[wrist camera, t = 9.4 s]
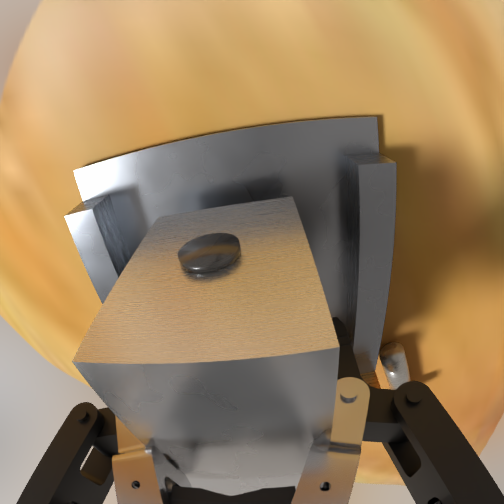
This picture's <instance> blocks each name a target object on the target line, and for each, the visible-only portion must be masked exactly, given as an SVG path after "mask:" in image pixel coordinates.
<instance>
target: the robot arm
mask: <svg viewBox="0 0 504 504" xmlns="http://www.w3.org/2000/svg"><path fill="white" fill-rule="evenodd" d="M332 321H333V325H334V328H335V332H336V335H337V339H338V343H339V346H340V350H339V364H338V377H337V388H336V399H335V408H334V417H333V425H332V433H331V440H328V441H316V442H314V443H312V445H311V448H310V451H309V454H308V457H307V460H306V463H305V466H304V469H303V472H302V475H301V477H300V480H299V483H298V486H297V489H296V488H295V486H288V487H276V488H262V489H259V490H255V491H251V492H247V493H243V494H238V495H234V496H229V495H224V494H220V493H216V492H213V491H209V490H205V489H202V488H192V486H191V484H190V482H189V480H188V478H187V477H186V475H185V474H184V473H183V472H182V471H181V470H180V469H176V468H175V467H174V466H173V465H172V464H171V463H170V462H169V461H168V460H167V459H166V458H165V456H164V454H163V453H162V452H161V451H160V450H159V449H158V448H157V447H156V446H145V445H144V444H143V443H141V442H140V441H139V440H138V439H137V438H136V436H135V435H134V434H133V433H132V432H131V431H130V430H129V429H128V428H127V427H126V426H125V425H124V424H123V423H122V422H121V421H120V420H119V419H118V417H117V416H116V415H115V414H114V413H113V412H112V411H111V410H110V408H109V407H108V408H103V409H97V408H96V407H95V406H94V405H93V404H91V403H89V402H84V403H80V404H78V405H76V406H75V407H74V408H73V409H72V411H71V412H70V414H69V415H68V417H67V418H66V420H65V421H64V423H63V425H62V426H61V428H60V429H59V431H58V433H57V434H56V436H55V437H54V439H53V441H52V442H51V444H50V446H49V447H48V449H47V451H46V452H45V454H44V456H43V457H42V459H41V461H40V462H39V464H38V466H37V467H36V469H35V471H34V473H33V474H32V476H31V478H30V480H29V482H28V483H27V485H26V487H25V489H24V490H23V492H22V494H21V496H20V498H19V500H18V502H17V504H103V502H104V500H105V498H106V496H107V494H108V492H109V490H110V488H111V486H112V484H113V482H115V489H116V496H117V502H118V504H348V502H349V499H350V495H351V492H352V488H353V484H354V480H355V476H356V472H357V468H358V463H359V459H360V454H361V444H362V441H371V442H382V444H383V445H384V447H385V449H386V451H387V452H388V454H389V456H390V458H391V459H392V461H393V463H394V465H395V467H396V468H397V470H398V472H399V474H400V476H401V477H402V479H403V481H404V483H405V485H406V486H407V488H408V490H409V492H410V493H411V495H412V497H413V499H414V501H415V503H416V504H504V496H503V494H502V492H501V491H500V489H499V488H498V486H497V484H496V483H495V481H494V480H493V478H492V477H491V475H490V473H489V472H488V470H487V469H486V467H485V466H484V464H483V463H482V461H481V460H480V458H479V457H478V455H477V454H476V452H475V451H474V450H473V448H472V447H471V445H470V444H469V442H468V441H467V439H466V438H465V436H464V435H463V434H462V432H461V431H460V429H459V428H458V427H457V425H456V424H455V422H454V421H453V420H452V418H451V417H450V415H449V414H448V413H447V411H446V410H445V409H444V407H443V406H442V404H441V403H440V402H439V400H438V399H437V398H436V396H435V395H434V394H433V392H432V391H431V390H430V388H429V387H428V386H427V385H425V384H423V383H421V382H418V381H409V382H405V383H403V384H402V385H400V386H399V387H398V388H397V389H396V390H391V389H378V388H374V387H372V386H370V385H368V384H367V383H366V382H365V381H364V380H363V379H362V377H361V375H360V372H359V368H358V365H357V362H356V358H355V355H354V352H353V349H352V346H351V342H350V339H349V337H348V333H347V330H346V327H345V324H344V323H343V322H342V321H341V320H340V319H339V318H338V317H333V318H332ZM91 446H93V447H94V448H93V449H92V451H91V453H90V455H89V457H88V458H87V460H86V462H85V464H84V466H83V467H82V469H81V470H80V467H81V465H82V463H83V461H84V459H85V457H86V456H87V454H88V452H89V450H90V448H91Z"/></svg>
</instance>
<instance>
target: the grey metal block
mask: <svg viewBox="0 0 504 504" xmlns="http://www.w3.org/2000/svg"><path fill="white" fill-rule="evenodd" d="M339 350H340V346H339V343H338V339H337V335H336V332H335V328H334V325H333V321H332V318H331V314H330V311H329V308H328V304H327V301H326V298H325V294H324V291H323V288H322V284H321V281H320V278H319V275H318V272H317V268H316V265H315V262H314V259H313V256H312V253H311V250H310V247H309V244H308V240H307V237H306V234H305V231H304V228H303V226H302V223H301V220H300V217H299V214H298V211H297V208H296V205H295V202H294V199H293V197H284V198H276V199H269V200H262V201H255V202H248V203H241V204H234V205H228V206H221V207H215V208H209V209H203V210H197V211H191V212H185V213H179V214H173V215H168V216H162V217H158V218H157V219H156V221H155V222H154V224H153V225H152V227H151V228H150V230H149V231H148V233H147V234H146V236H145V237H144V239H143V240H142V242H141V243H140V245H139V246H138V248H137V249H136V251H135V253H134V254H133V256H132V257H131V259H130V260H129V262H128V264H127V265H126V267H125V268H124V270H123V272H122V273H121V275H120V276H119V278H118V280H117V281H116V283H115V285H114V286H113V288H112V290H111V291H110V293H109V295H108V296H107V298H106V300H105V302H104V303H103V305H102V307H101V309H100V310H99V312H98V314H97V316H96V317H95V319H94V321H93V323H92V325H91V326H90V328H89V330H88V332H87V334H86V336H85V338H84V339H83V341H82V343H81V345H80V347H79V349H78V351H77V353H76V355H75V357H74V359H73V361H72V362H73V363H74V365H75V366H76V368H77V369H78V370H79V372H80V373H81V374H82V375H83V377H84V378H85V379H86V381H87V382H88V383H89V384H90V386H91V387H92V388H93V389H94V391H95V392H96V393H97V394H98V395H99V397H100V398H101V399H102V400H103V402H104V403H105V404H106V405H107V406H108V407H109V408H110V410H111V411H112V412H113V413H114V414H115V415H116V416H117V417H118V419H119V420H120V421H121V422H122V423H123V424H124V425H125V426H126V427H127V428H128V429H129V430H130V431H131V432H132V433H133V434H134V435H135V436H136V438H137V439H138V440H139V441H140V442H141V443H143V444H144V445H145V446H156V447H157V448H158V449H159V450H160V451H161V452H162V453H163V454H164V456H165V458H166V459H167V460H168V461H169V462H170V463H171V464H172V465H173V466H174V467H175V468H176V469H180V470H181V471H182V472H183V473H184V474H185V475H186V477H187V478H188V480H189V482H190V484H191V486H192V488H202V489H205V490H209V491H213V492H216V493H220V494H224V495H229V496H234V495H238V494H243V493H247V492H251V491H255V490H259V489H262V488H276V487H288V486H295V488H296V489H297V486H298V483H299V480H300V477H301V475H302V472H303V469H304V466H305V463H306V460H307V457H308V454H309V451H310V448H311V445H312V443H314V442H316V441H328V440H331V433H332V425H333V417H334V408H335V399H336V388H337V377H338V364H339Z"/></svg>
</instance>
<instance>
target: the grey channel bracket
mask: <svg viewBox="0 0 504 504" xmlns="http://www.w3.org/2000/svg"><path fill="white" fill-rule="evenodd" d="M74 174H75V177H76V181H77V184H78V187H79V190H80V193H81V197H82V200H83V202H82V203H80V204H79V205H78V206H76V207H75V208H74V209H73V210H71V211H70V212H69V213H68V214H67V215H65V219H66V221H67V224H68V227H69V229H70V232H71V235H72V237H73V240H74V242H75V245H76V247H77V249H78V252H79V254H80V256H81V259H82V261H83V263H84V266H85V268H86V270H87V272H88V275H89V277H90V279H91V281H92V283H93V285H94V288H95V290H96V292H97V294H98V296H99V298H100V300H101V302H102V304H103V303H104V302H105V300H106V298H107V296H108V295H109V293H110V291H111V290H112V288H113V286H114V285H115V283H116V281H117V280H118V278H119V276H120V275H121V273H122V272H123V270H124V268H125V267H126V265H127V264H128V262H129V260H130V259H131V257H132V256H133V254H134V253H135V251H136V249H137V248H138V246H139V245H140V243H141V242H142V240H143V239H144V237H145V236H146V234H147V233H148V231H149V230H150V228H151V227H152V225H153V224H154V222H155V221H156V219H157V218H158V217H162V216H168V215H173V214H179V213H185V212H191V211H197V210H203V209H209V208H215V207H221V206H228V205H234V204H241V203H248V202H255V201H262V200H269V199H276V198H284V197H293V199H294V202H295V205H296V208H297V211H298V214H299V217H300V220H301V223H302V226H303V228H304V231H305V234H306V237H307V240H308V244H309V247H310V250H311V253H312V256H313V259H314V262H315V265H316V268H317V272H318V275H319V278H320V281H321V284H322V288H323V291H324V294H325V298H326V301H327V304H328V308H329V311H330V314H331V318H333V317H338V318H339V319H340V320H341V321H342V322H343V323H344V324H345V327H346V330H347V333H348V337H349V339H350V342H351V346H352V349H353V352H354V355H355V358H356V362H357V365H358V368H359V372H360V375H361V377H362V379H363V380H364V381H365V382H366V383H367V384H368V385H370V386H372V387H374V388H378V389H381V388H380V384H379V381H378V378H377V375H376V373H375V368H376V364H377V359H378V354H379V349H380V344H381V339H382V333H383V327H384V321H385V315H386V308H387V301H388V294H389V286H390V278H391V269H392V259H393V247H394V233H395V216H396V162H395V161H393V160H391V159H389V158H388V157H386V156H384V155H382V154H381V153H379V139H378V123H377V117H375V116H369V117H346V118H330V119H317V120H306V121H296V122H287V123H278V124H271V125H263V126H256V127H249V128H243V129H237V130H231V131H225V132H219V133H214V134H208V135H203V136H198V137H193V138H189V139H184V140H180V141H175V142H171V143H166V144H162V145H158V146H154V147H150V148H146V149H142V150H138V151H135V152H131V153H127V154H124V155H120V156H117V157H113V158H110V159H107V160H103V161H100V162H97V163H94V164H91V165H88V166H85V167H82V168H79V169H76V170H74Z"/></svg>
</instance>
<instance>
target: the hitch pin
mask: <svg viewBox="0 0 504 504" xmlns="http://www.w3.org/2000/svg"><path fill="white" fill-rule="evenodd" d="M379 357H380V360H381V363H382V366H383V368H384V371H385V374H386V377H387V380H388V383H389V386H390V389H391V390H396V389H397V388H398V387H399V386H400V385H402V384H403V383H405V382H409V381H411V378H410V373H409V369H408V364H407V360H406V355H405V351H404V348H403V346H402V345H401V344H400V343H397V342H391V343H388V344H386V345H385V346H383V348H382V349H381V350H380V353H379Z"/></svg>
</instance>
